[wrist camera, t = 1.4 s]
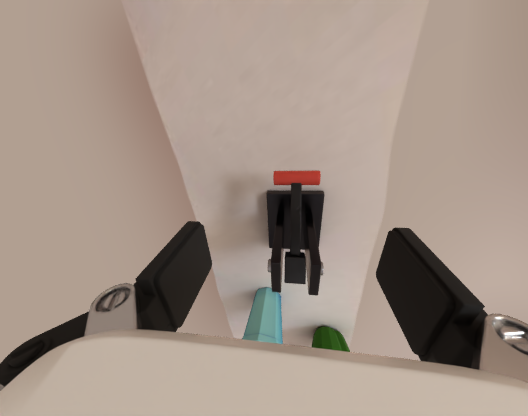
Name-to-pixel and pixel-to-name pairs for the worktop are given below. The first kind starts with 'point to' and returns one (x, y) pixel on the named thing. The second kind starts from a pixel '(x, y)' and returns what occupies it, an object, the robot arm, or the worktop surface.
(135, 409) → the robot arm
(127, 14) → the worktop surface
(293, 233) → the lever
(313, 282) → the bracket
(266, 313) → the cup
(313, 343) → the bell pepper
